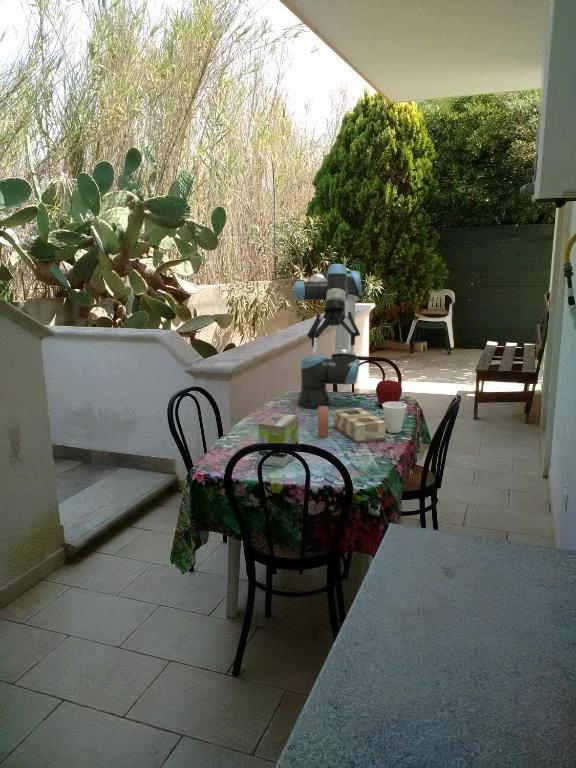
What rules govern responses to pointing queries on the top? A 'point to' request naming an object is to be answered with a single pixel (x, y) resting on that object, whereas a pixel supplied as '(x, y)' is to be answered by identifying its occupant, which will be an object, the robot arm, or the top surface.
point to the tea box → (278, 435)
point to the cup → (394, 416)
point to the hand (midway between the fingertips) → (332, 354)
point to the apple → (388, 391)
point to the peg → (323, 421)
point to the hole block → (359, 425)
